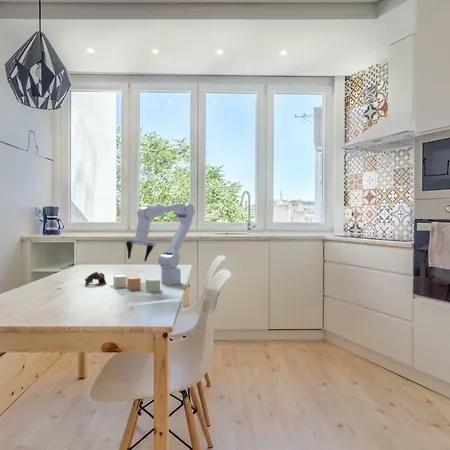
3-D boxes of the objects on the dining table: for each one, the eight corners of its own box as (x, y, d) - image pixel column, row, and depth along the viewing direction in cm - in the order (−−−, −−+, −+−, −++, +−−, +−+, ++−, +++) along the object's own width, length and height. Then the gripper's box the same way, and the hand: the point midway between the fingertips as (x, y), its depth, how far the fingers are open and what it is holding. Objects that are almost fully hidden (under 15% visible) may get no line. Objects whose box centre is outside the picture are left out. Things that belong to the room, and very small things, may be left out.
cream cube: (124, 285, 186) (124, 274, 186) (126, 286, 182) (126, 276, 181) (113, 285, 184) (113, 275, 184) (115, 287, 179) (115, 277, 179)
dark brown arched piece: (104, 289, 183) (95, 275, 182) (88, 296, 185) (79, 283, 183) (112, 279, 195) (104, 265, 193) (98, 286, 197) (89, 273, 195)
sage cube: (156, 289, 175) (156, 278, 175) (159, 291, 171) (160, 280, 171) (146, 290, 173) (146, 279, 173) (149, 292, 168) (149, 281, 168)
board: (147, 284, 193) (147, 282, 193) (164, 293, 170) (164, 291, 170) (109, 287, 184) (109, 285, 184) (121, 297, 161) (121, 295, 161)
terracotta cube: (137, 287, 180) (137, 276, 180) (140, 289, 176) (140, 278, 176) (127, 288, 178) (127, 277, 178) (129, 289, 173) (129, 279, 173)
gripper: (125, 227, 175) (120, 256, 172) (156, 233, 176) (151, 261, 174) (128, 229, 182) (122, 257, 179) (158, 234, 183) (152, 262, 181)
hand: (137, 259), depth 177 cm, fingers open, 7 cm apart
